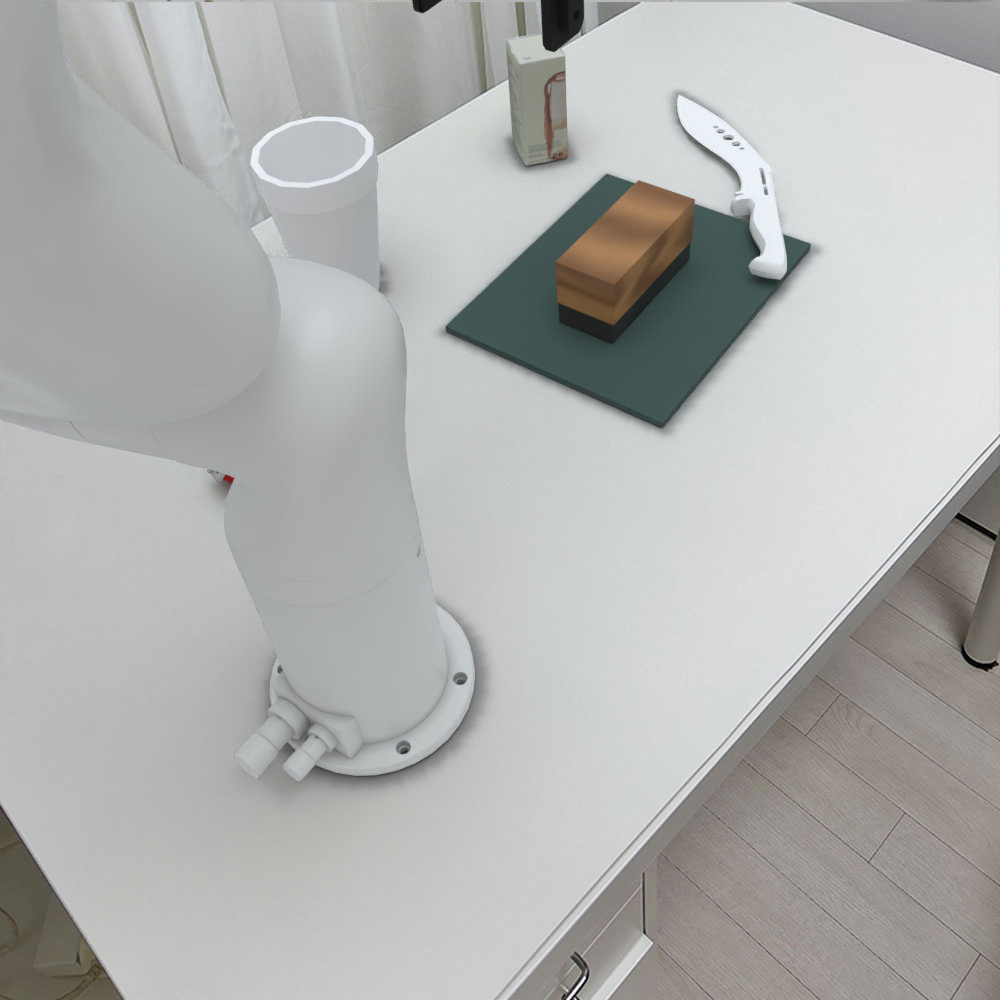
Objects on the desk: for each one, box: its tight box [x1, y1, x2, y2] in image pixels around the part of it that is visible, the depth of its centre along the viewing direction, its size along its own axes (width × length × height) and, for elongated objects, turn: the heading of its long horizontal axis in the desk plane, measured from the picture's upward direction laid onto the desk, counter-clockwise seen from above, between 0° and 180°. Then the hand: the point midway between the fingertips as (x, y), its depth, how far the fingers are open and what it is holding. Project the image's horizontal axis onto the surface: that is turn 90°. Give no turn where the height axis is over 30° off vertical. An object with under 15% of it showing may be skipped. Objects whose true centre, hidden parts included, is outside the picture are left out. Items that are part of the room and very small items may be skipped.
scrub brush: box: [556, 179, 696, 344], centre depth 87 cm, size 12×5×6 cm, turn 144°
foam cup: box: [249, 115, 381, 291], centre depth 88 cm, size 10×9×13 cm
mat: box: [445, 173, 812, 429], centre depth 90 cm, size 24×20×1 cm
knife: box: [676, 94, 787, 280], centre depth 98 cm, size 30×2×8 cm
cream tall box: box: [505, 32, 569, 167], centre depth 100 cm, size 5×4×10 cm
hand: (496, 21), depth 67 cm, fingers open, 9 cm apart
